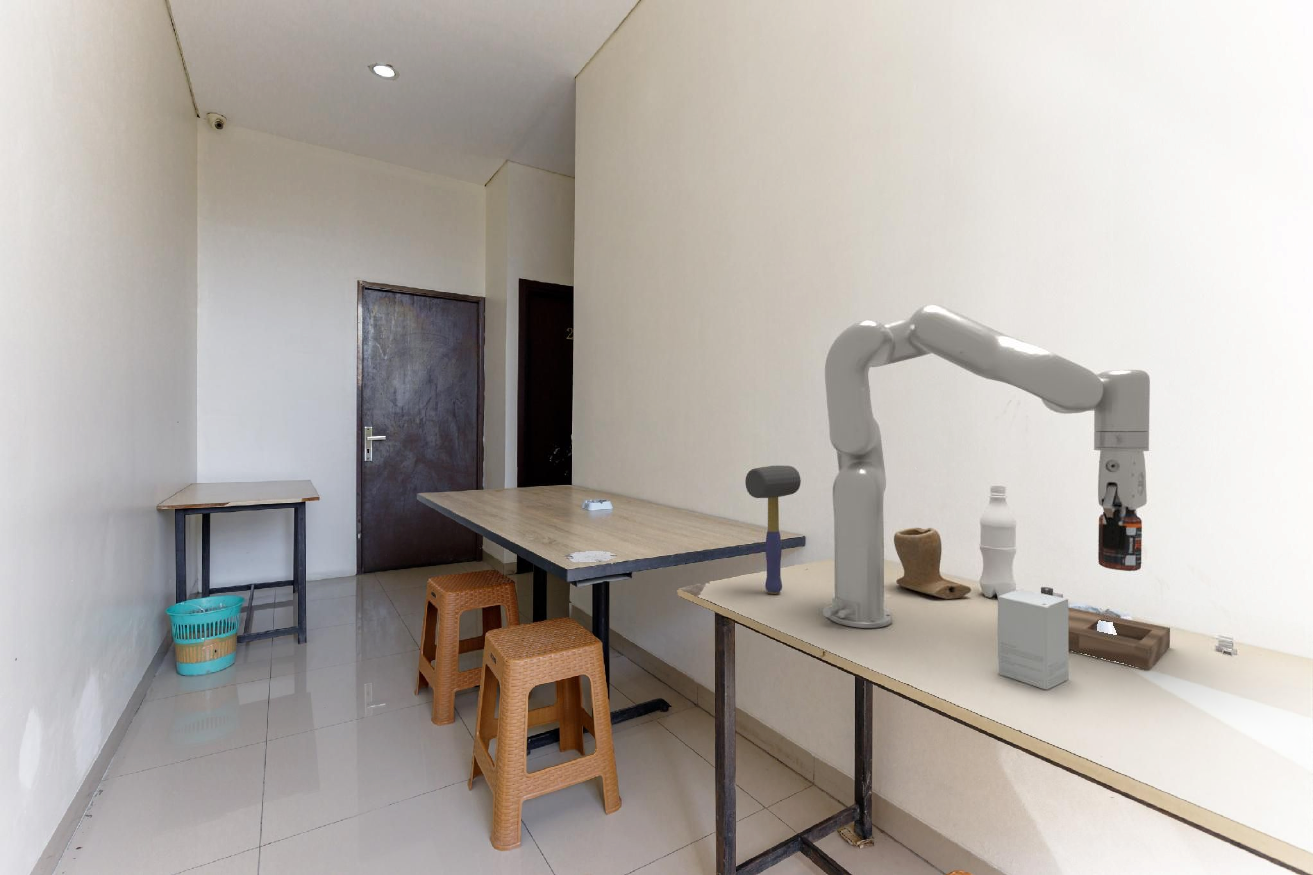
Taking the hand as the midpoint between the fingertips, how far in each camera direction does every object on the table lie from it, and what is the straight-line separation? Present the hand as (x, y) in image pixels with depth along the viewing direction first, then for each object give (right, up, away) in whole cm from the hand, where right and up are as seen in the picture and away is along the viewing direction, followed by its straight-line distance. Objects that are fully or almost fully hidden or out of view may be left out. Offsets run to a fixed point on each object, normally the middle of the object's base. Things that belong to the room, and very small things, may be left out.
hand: (1119, 544), depth 104 cm
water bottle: (-3, -18, +32) cm, 37 cm away
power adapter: (+16, -19, -2) cm, 25 cm away
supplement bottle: (0, -4, 0) cm, 4 cm away
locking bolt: (-4, -14, +13) cm, 20 cm away
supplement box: (-21, -19, -10) cm, 30 cm away
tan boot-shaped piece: (-18, -18, +36) cm, 44 cm away
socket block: (-3, -18, +5) cm, 19 cm away
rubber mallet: (-53, -18, +36) cm, 67 cm away
